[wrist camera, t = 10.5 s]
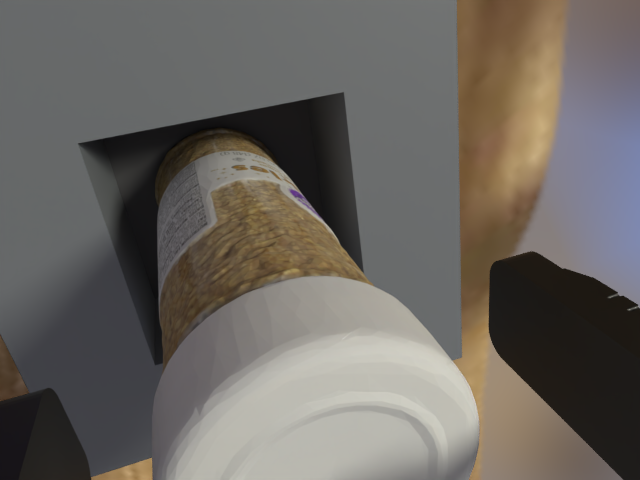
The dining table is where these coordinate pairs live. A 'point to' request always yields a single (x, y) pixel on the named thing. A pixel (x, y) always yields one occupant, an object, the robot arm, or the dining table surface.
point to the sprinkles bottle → (286, 339)
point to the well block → (189, 118)
